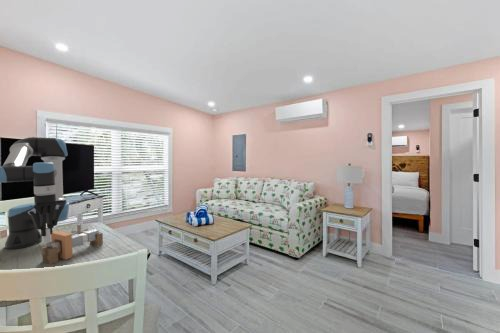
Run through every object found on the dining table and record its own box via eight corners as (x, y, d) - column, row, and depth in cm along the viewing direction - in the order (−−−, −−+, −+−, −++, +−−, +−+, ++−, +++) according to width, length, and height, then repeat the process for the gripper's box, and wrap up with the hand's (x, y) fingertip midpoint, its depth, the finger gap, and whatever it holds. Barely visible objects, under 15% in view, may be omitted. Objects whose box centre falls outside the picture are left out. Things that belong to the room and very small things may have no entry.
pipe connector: (78, 244, 127) (77, 227, 126) (64, 242, 129) (64, 226, 128) (93, 237, 137) (93, 222, 136) (80, 236, 139) (80, 221, 138)
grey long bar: (47, 252, 107) (46, 242, 107) (93, 237, 128) (93, 229, 127) (52, 254, 105) (52, 244, 105) (98, 238, 126) (98, 230, 125)
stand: (42, 261, 106) (41, 247, 106) (95, 242, 130) (94, 231, 129) (50, 264, 104) (50, 250, 103) (102, 244, 127) (102, 232, 127)
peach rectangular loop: (52, 255, 112) (51, 232, 111) (58, 252, 115) (58, 230, 114) (65, 259, 107) (64, 236, 107) (72, 256, 110) (71, 234, 110)
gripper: (31, 197, 96) (33, 248, 98) (65, 192, 108) (67, 238, 110) (22, 195, 99) (25, 245, 101) (56, 191, 111) (58, 235, 113)
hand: (47, 241), depth 105 cm, fingers closed
